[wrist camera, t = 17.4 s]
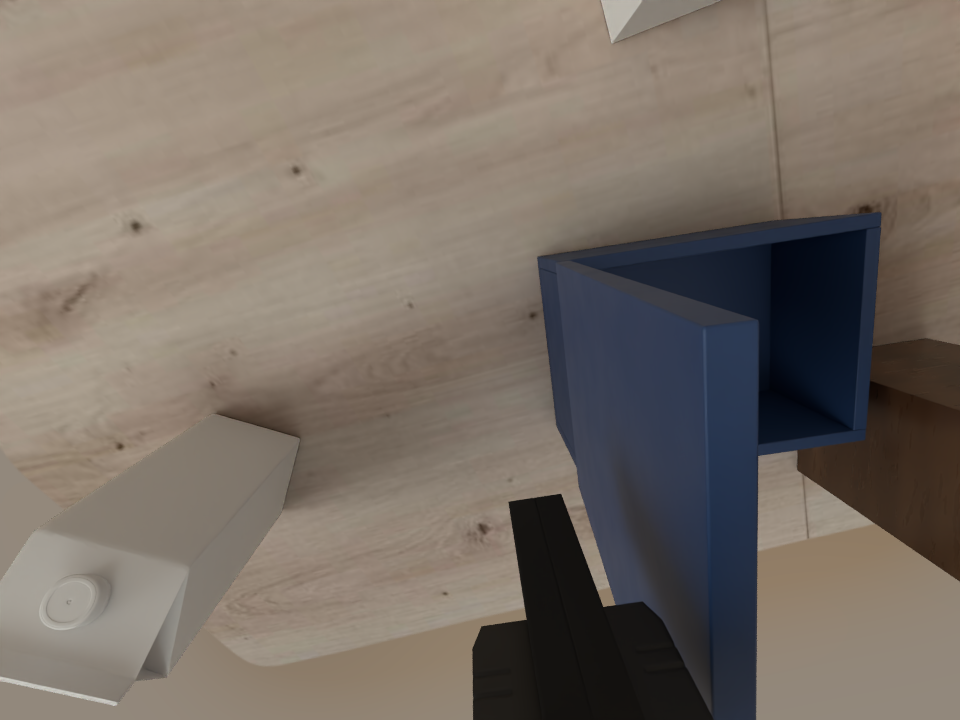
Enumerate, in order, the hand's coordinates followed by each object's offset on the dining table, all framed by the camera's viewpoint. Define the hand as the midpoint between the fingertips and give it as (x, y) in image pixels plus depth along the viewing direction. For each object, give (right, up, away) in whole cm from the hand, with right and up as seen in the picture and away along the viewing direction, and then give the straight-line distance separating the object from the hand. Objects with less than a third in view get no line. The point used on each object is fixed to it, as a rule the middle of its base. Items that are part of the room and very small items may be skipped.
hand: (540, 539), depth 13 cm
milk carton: (-21, -3, +24) cm, 32 cm away
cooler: (+12, +7, +22) cm, 26 cm away
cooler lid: (+4, +2, +4) cm, 6 cm away
